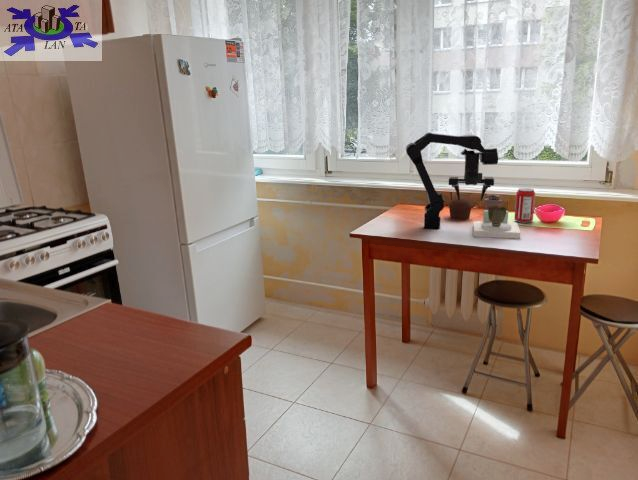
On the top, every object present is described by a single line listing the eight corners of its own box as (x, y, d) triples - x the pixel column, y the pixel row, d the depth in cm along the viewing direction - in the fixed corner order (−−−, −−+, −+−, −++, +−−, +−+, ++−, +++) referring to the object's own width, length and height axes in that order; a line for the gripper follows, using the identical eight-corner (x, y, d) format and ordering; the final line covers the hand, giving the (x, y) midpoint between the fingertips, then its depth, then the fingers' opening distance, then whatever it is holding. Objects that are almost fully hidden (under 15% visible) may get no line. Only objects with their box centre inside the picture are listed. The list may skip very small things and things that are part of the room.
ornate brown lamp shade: (506, 228, 201) (508, 209, 199) (488, 228, 203) (489, 209, 200) (503, 223, 208) (505, 205, 206) (485, 223, 210) (486, 205, 207)
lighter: (501, 214, 235) (503, 194, 233) (500, 216, 233) (501, 195, 230) (484, 213, 240) (485, 193, 237) (482, 214, 237) (484, 194, 234)
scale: (473, 236, 203) (474, 218, 201) (473, 226, 218) (474, 209, 215) (520, 238, 198) (521, 220, 196) (516, 228, 213) (517, 211, 210)
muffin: (475, 220, 227) (476, 199, 224) (451, 221, 227) (452, 200, 225) (468, 214, 239) (469, 194, 236) (445, 215, 239) (446, 195, 236)
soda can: (523, 224, 217) (526, 191, 213) (510, 220, 224) (512, 188, 220) (536, 222, 220) (539, 189, 216) (523, 218, 227) (525, 186, 223)
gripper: (448, 167, 204) (447, 204, 209) (495, 167, 199) (493, 205, 204) (449, 164, 215) (448, 198, 219) (494, 164, 209) (492, 199, 214)
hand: (470, 200), depth 214 cm, fingers open, 9 cm apart
